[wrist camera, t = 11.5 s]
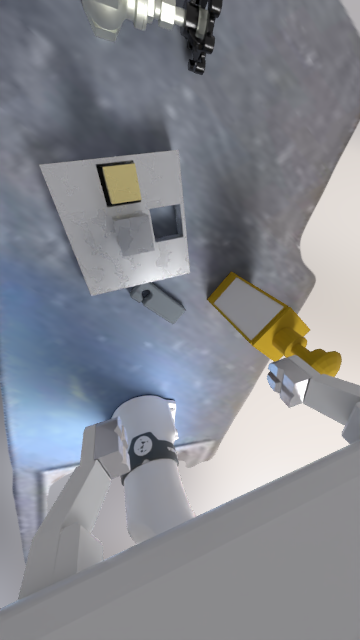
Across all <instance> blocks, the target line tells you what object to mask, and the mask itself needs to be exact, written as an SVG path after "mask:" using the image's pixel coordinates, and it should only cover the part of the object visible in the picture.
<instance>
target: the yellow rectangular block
mask: <svg viewBox="0 0 360 640" xmlns="http://www.w3.org/2000/svg"><path fill="white" fill-rule="evenodd" d="M103 177H104V181H105V185H106V188H107V192H108V196H109V200H110V202H111V203H112V204H117V203H123V202H130V201H137V200H142V199H141V194H140V188H139V183H138V178H137V172H136V167H135V163H134V164H125V165H116V166H107V167H103Z"/></svg>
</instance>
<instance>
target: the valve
mask: <svg viewBox="0 0 360 640" xmlns="http://www.w3.org/2000/svg"><path fill="white" fill-rule="evenodd" d="M207 2H208V11H207V10H205V7H206V4H207ZM82 4H83V8H84V11H85V13H86V15H87V18H88V20H89V22H90V25H91V27H92V29H93V32H94V34H95V36H96V37H99V38H102V39H105V40H108V41H111V42H115V41H116V39H117V36H118V34H119V31H120V29H121V26H122V23H123V22H124V20H125V19H128V20H131V21H133V22H134V27H135V28H137V29H140V30H143V31H145V29H146V25H147V23H150V24H151V23H152V21H153V18H155V19H158V27H161V28H164V29H167V30H170V31H171V30H172V28H173V25H174V24H176V25H178V26H180V31H181V35H182V36H184V37H185V38H186V39H187V40H188V44H187V47H188V49H191V50H193V60H191V59H189V62H188V70H189V71H192V72H194V73H196V74H200V75H203V73H204V70H205V56H206V53H207V54H211V53H212V52H213V49H214V44H215V37H214V36H213V28H214V22H215V19H216V18H218V17H219V15H220V12H221V8H222V0H189V1H187V0H186V1H185V2H184V5H183V9H182V8H180V7H177V6H176V1H175V0H82Z"/></svg>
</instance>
